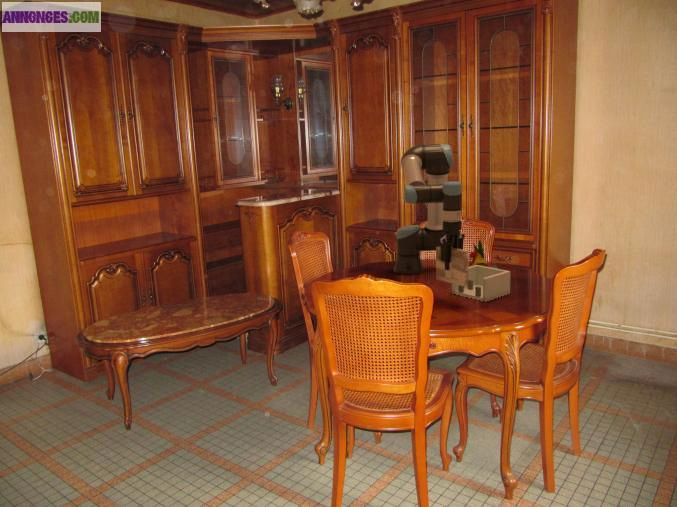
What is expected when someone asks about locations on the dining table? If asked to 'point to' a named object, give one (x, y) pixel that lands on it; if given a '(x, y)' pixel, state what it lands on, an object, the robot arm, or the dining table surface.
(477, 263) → the ornament
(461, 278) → the door
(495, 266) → the pocket watch
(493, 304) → the dining table surface
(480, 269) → the cabinet
